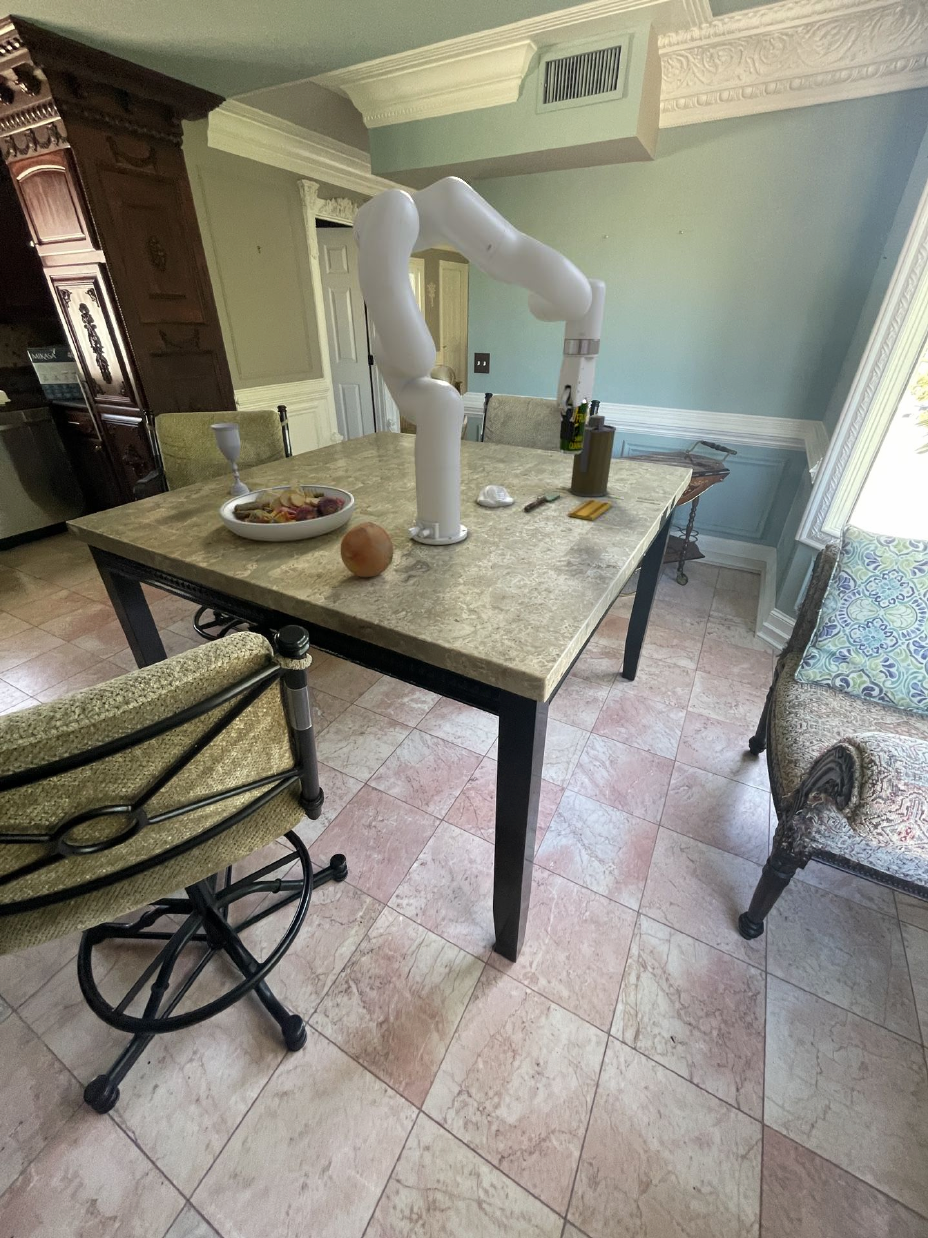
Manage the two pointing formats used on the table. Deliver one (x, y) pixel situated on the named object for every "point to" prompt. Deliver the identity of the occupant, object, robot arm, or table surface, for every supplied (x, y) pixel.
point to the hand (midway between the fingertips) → (572, 436)
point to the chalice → (230, 450)
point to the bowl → (288, 512)
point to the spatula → (542, 500)
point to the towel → (590, 509)
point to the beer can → (576, 431)
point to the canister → (593, 459)
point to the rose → (494, 497)
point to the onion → (366, 550)
